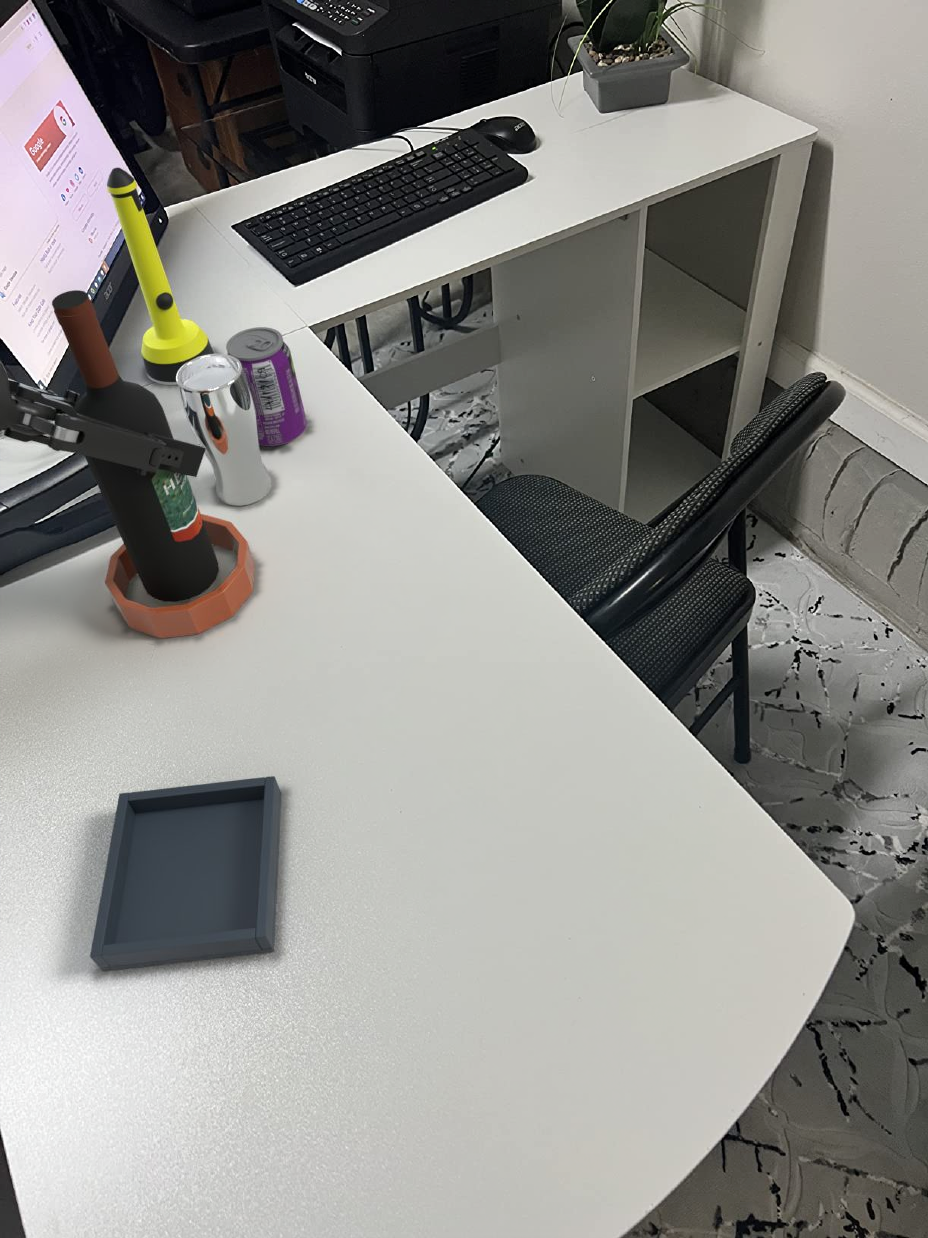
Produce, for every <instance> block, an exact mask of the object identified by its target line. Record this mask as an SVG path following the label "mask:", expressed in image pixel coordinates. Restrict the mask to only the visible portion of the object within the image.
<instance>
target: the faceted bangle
mask: <svg viewBox="0 0 928 1238" xmlns="http://www.w3.org/2000/svg"><path fill="white" fill-rule="evenodd" d="M201 516H202V519H203V522H204V524H205V527H206V530H207V533H208V536H209V538H210V541H211V544H212V546H215V547H219V548H222V549H225V550H229V551H232V552H234V554H235V555H236V556H237V561H236V566H235V568H234V569H233V570H232V571H231V572H230V574H229V575H228V576H227V577H226V578H225V579H224V580H223V581H222V583H221V584H220V585H219V586H218V588H215V589H214V590H212V591H210V592H208V593H206V594H204V595H202V596H200V597H198V598H196V599H194V600H192V601H190V602H188V603H185V604H177V605H168V606H159V607H150V606H147V605H144V604H142V603H138V602H135V601H133V600H130V599H127V596H128V592H129V586H130V583H131V581H132V580H133V579H134V578H135V577H136V576H137V575H138V573H137V571H136V569H135V567H134V565H133V562H132V560H131V558H130V556H129V553H128V551H127V549H126V547H125V545H124V542H123V543H122V544H121V545H120V546H119V547H118V548H117V549H116V551H114V552H113V553H112V554H111V556H110V558H109V562H108V567H107V572H106V575H105V580H104V584H105V586H106V589H107V590H108V593H109V594H110V596H111V598H112V600H113V602H114V604H115V607H116V608H117V610H118V612H119V613H120V614H121V616H122V617H123V619H124V621H125V623H126V624H127V625H128V627H129V628H130V629H131V630H135V631H138V632H141V633H143V634H146V635H149V636H152V637H155V638H158V639H167V638H176V637H177V638H178V637H185V636H186V637H187V636H194V635H199V634H201V633H203V632H205V631H207V630H210V629H211V628H213V627H215V626H217V625H219V624H221V623H222V622H225V621H227V620H229V619H231V618H232V617H233V616H234V615H236V613H237V612H238V611H239V609H240V608H241V607H242V606H243V604H244V603H245V602H246V600H247V599H248V598H249V597H250V596H251V594H252V593H253V592H254V584H255V574H256V573H255V572H256V563H255V561H254V558H253V556H252V552H251V548H250V545H249V542H248V541H247V539H246V538H245V537H244V536H243V535H242V533H241V532H240V531H239V530H238V528H237V527H236V526H235V525H234V524H233V523H232V521H229V520H225V519H222V518H218V517H215V516H210V515H209V514H204V513H201Z"/></svg>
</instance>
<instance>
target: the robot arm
mask: <svg viewBox="0 0 928 1238" xmlns="http://www.w3.org/2000/svg"><path fill="white" fill-rule="evenodd" d="M79 399H80V393H78V392H75V391H73V390H70V389H65V392H64V396H63V397H62V396H61V397H60V396H58V394H56V393H55V392H54V391H53V390H49V389H47V390H44V389H41V388H37V387H33V386H29V385H27V384H24V383H21V382H19V381H16V380H14V379H12V378H9V376H8V372H7V370H6V368H5V366H4V364H3V362H2V360H0V433H1V432H2V431H3V436H5V437H7V438H10V439H13V440H15V441H20V442H24V443H28V442H35V443H38V444H43V445H45V446H47V447H48V448H50V449H51V450H53V451H56V452H60V451H62V452H67V453H73V454H77V455H83V456H84V455H86V456H90V457H94V458H98V459H102V460H106V461H111V462H115V463H119V464H123V465H127V466H131V467H135V468H136V472H137V473H139V474H140V475H144V476H145V475H146V471H147V472H150V473H152V472H154V473H157V471H158V469H161V470H165V471H170V472H174V473H179V474H184V475H187V477H193V478H197V477H198V473H199V470H200V467H201V465H202V463H203V462H202V461H203V459H204V456H205V450H206V448H203V447H201V446H200V445H197V444H194V443H190V442H186V441H182V440H178V439H175V438H174V439H172V438H168V437H164V436H160V435H156V434H153V433H149V432H145V434H142V433H139V432H136V431H132V430H129V429H126V428H123V427H120V426H116V425H113V424H110V423H107V422H104V421H100V420H97V419H94V418H91V417H88V416H84V415H81V414H78V413H76V410H75V406H76V405H77V403H78V401H79Z"/></svg>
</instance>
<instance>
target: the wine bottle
mask: <svg viewBox="0 0 928 1238" xmlns="http://www.w3.org/2000/svg"><path fill="white" fill-rule="evenodd" d="M51 305H52V309H53V312H54V315H55V317H56V320H57V322H58V324H59V326H61V329H62V332H63V335H64V336H65V339H66V341H67V343H68V346H69V348H70V350H71V353H72V356H73V358H74V360H75V362H76V365H77V367H78V369H79V372H80V374H81V377H82V380H83V381H84V385H85V393H83V394H82V396H81V397H79V399H78V402H77V405H76V406H75V410H76V413H78V414H81V415H84V416H88V417H91V418H94V419H97V420H100V421H104V422H107V423H110V424H113V425H116V426H120V427H123V428H126V429H129V430H132V431H136V432H139V433H142V434H145V432H149V433H153V434H156V435H160V436H164V437H168V438H172V439H175V438H174V436H173V433H172V430H171V427H170V424H169V422H168V419H167V416H166V413H165V410H164V408H163V406H162V404H161V402H160V400H159V399H158V398H157V396H156V394H155V393H154V392H152V391H150V390H148V388H146V387H144V386H143V385H141V384H139V383H136V382H133V381H131V382H130V381H127V380H124V379H123V378H122V377H121V376H120V374H119V371H118V368H117V365H116V364H115V360H114V359H113V356H112V353H111V351H110V348H109V346H108V343H107V340H106V338H105V336H104V332H103V330H102V327H101V325H100V322H99V320H98V317H97V312H96V308H95V307H94V303H93V302H92V300H91V299H90V297H89V295H88V293H87V292H86V291H84V290H77V289H75V290H74V289H73V290H68V291H65V292H62V293H60V294H58V295H56V296H55V297H53V299H52V301H51ZM83 456H84V459H85V460H86V463H87V465H88V468H89V470H90V471H91V473H92V476H93V478H94V481H95V483H96V485H97V487H98V489H99V491H100V493H101V496H102V498H103V500H104V503H105V504H106V507H107V509H108V511H109V514H110V516H111V518H112V521H113V523H114V525H115V526H116V530H117V532H118V533H119V536H120V538H121V541H122V542H123V543H124V545H125V547H126V549H127V551H128V553H129V556H130V558H131V560H132V562H133V565H134V567H135V569H136V571H137V576H138V578H139V581H140V582H141V584H142V587H143V589H144V590H145V593H146V594H147V595H148V596H149V597H151V598H152V599H153V600H156V601H159V602H162V603H163V602H164V603H180V602H183V601H189V600H191V599H193V598H195V597H198V596H200V595H201V594H203V593H204V592H205V591H207V590H208V589H210V588H211V587H212V585H213V584H214V582H215V581H216V580H217V577H218V574H219V573H220V568H219V567H220V566H219V560H218V558H217V555H216V552H215V549H214V547H213V545H212V544H211V541H210V538H209V536H208V533H207V530H206V527H205V524H204V522H203V519H202V516H201V514H202V513H201V511H200V507H199V505H198V502H197V499H196V496H195V494H194V490H193V489H192V486H191V482H190V480H189V476H188V475H184V474H179V473H174V472H170V471H165V470H161V469H158V471H157V473H154V472H152V473H150V472H147V471H146V475H145V476H144V475H140V474H139V473H137V472H136V468H135V467H131V466H127V465H123V464H119V463H115V462H111V461H106V460H102V459H98V458H94V457H90V456H86V455H83Z"/></svg>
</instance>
